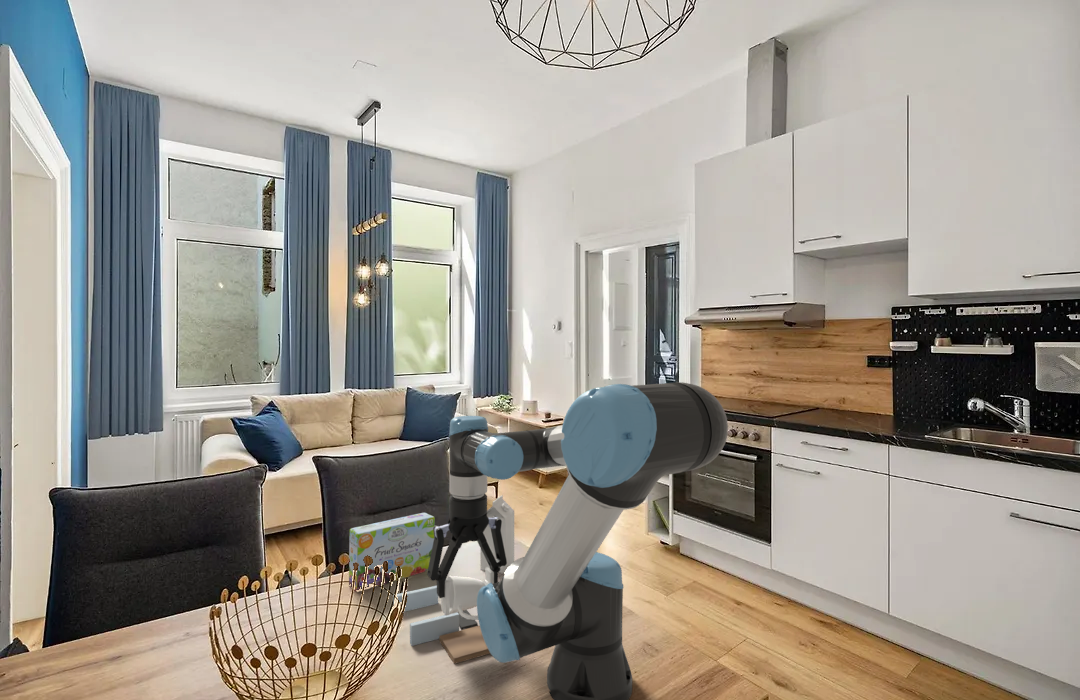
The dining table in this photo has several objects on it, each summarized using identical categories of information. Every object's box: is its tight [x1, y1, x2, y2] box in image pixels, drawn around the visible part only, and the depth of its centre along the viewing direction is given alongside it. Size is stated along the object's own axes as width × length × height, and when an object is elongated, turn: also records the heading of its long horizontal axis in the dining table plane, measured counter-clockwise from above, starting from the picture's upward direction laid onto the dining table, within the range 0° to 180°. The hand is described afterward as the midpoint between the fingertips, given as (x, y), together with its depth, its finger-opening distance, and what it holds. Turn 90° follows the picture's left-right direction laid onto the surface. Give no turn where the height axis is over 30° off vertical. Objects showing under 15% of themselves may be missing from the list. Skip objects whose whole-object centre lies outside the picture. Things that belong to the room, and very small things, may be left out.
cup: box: [447, 574, 489, 621], centre depth 107 cm, size 7×10×8 cm
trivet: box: [438, 625, 491, 665], centre depth 108 cm, size 9×9×1 cm
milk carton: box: [479, 494, 515, 574], centre depth 145 cm, size 7×7×19 cm
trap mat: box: [458, 609, 479, 630], centre depth 120 cm, size 13×4×1 cm, turn 28°
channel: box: [392, 585, 460, 647], centre depth 117 cm, size 15×10×4 cm, turn 28°
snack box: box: [348, 512, 436, 592], centre depth 138 cm, size 21×6×15 cm, turn 132°
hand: (467, 606), depth 108 cm, fingers closed on cup, 9 cm apart
